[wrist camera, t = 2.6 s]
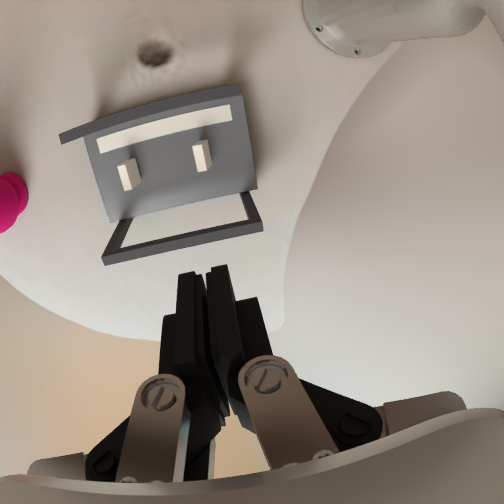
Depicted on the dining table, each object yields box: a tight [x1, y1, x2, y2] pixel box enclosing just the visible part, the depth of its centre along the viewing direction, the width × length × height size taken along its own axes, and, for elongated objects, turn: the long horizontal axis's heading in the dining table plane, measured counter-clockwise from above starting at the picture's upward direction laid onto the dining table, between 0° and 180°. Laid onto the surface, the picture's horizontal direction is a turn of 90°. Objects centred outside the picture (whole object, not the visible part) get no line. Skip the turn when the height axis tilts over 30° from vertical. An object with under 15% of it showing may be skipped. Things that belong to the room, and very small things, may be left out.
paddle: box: [117, 158, 142, 191], centre depth 31 cm, size 1×3×2 cm, turn 8°
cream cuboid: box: [192, 140, 212, 172], centre depth 31 cm, size 1×3×2 cm, turn 8°
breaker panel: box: [83, 95, 258, 223], centre depth 34 cm, size 18×11×3 cm, turn 100°
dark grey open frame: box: [59, 84, 264, 266], centre depth 30 cm, size 16×14×11 cm
